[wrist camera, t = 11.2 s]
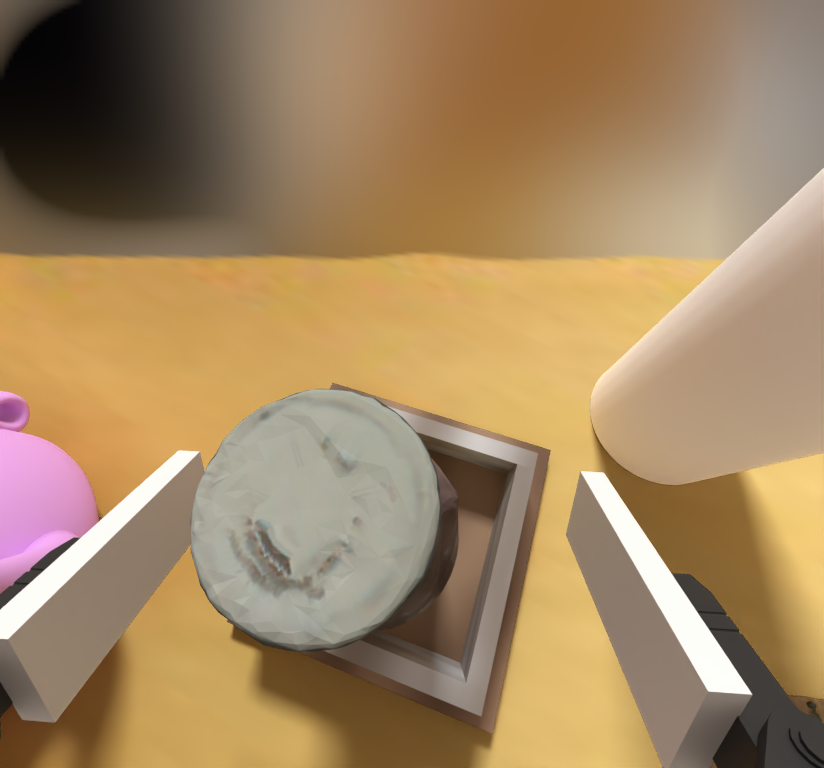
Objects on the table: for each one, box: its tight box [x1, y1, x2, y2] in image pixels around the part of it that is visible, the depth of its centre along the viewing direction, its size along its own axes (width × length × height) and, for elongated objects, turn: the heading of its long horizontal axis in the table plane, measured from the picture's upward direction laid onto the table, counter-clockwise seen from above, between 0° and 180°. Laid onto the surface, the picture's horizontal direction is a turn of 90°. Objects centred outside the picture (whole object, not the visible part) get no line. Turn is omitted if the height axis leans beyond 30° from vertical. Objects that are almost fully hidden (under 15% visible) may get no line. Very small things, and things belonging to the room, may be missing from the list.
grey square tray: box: [227, 383, 551, 734], centre depth 23 cm, size 16×16×4 cm
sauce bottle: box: [190, 389, 459, 652], centre depth 15 cm, size 6×6×20 cm
